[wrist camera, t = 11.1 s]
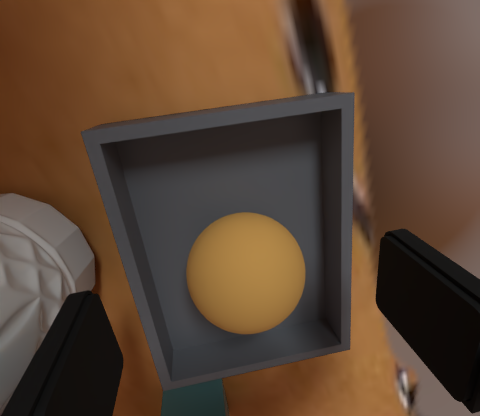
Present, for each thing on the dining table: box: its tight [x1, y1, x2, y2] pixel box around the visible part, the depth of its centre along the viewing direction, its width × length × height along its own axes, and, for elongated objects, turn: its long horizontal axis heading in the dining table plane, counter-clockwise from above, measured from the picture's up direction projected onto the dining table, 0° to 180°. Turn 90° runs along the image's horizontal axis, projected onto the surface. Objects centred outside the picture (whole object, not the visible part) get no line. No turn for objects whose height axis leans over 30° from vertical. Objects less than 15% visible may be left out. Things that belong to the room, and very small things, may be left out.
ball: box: [186, 212, 306, 334], centre depth 13 cm, size 5×5×5 cm
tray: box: [81, 92, 354, 391], centre depth 15 cm, size 13×10×3 cm
